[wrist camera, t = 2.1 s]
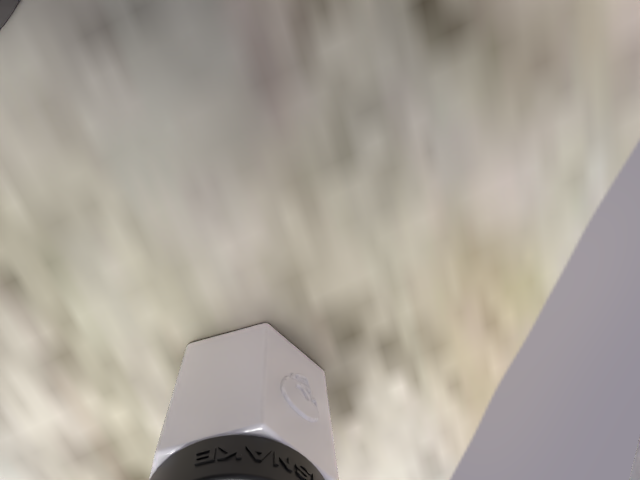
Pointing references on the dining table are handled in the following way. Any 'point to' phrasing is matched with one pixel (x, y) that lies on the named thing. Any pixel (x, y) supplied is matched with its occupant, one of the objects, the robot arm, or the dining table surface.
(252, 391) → the jar
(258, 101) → the dining table surface
